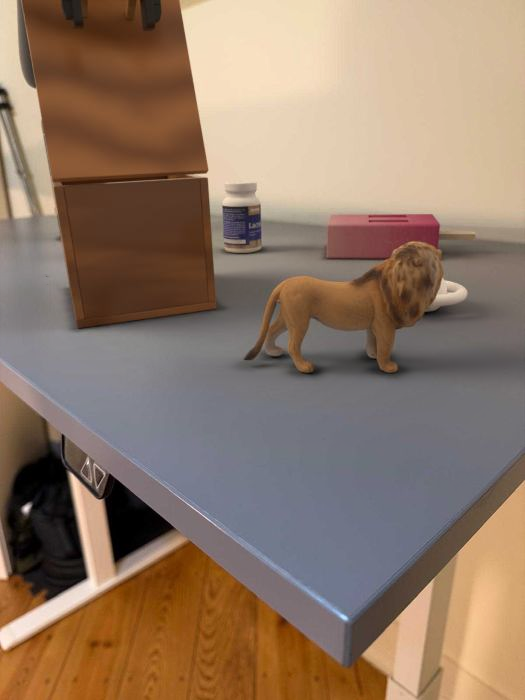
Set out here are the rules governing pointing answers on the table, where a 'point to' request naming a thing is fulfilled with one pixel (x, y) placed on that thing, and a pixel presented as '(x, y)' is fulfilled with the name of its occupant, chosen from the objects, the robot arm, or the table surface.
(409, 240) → the popsicle
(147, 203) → the chest
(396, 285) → the lion figurine
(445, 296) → the white curved piece
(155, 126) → the lid
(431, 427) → the table surface
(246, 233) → the pill bottle
